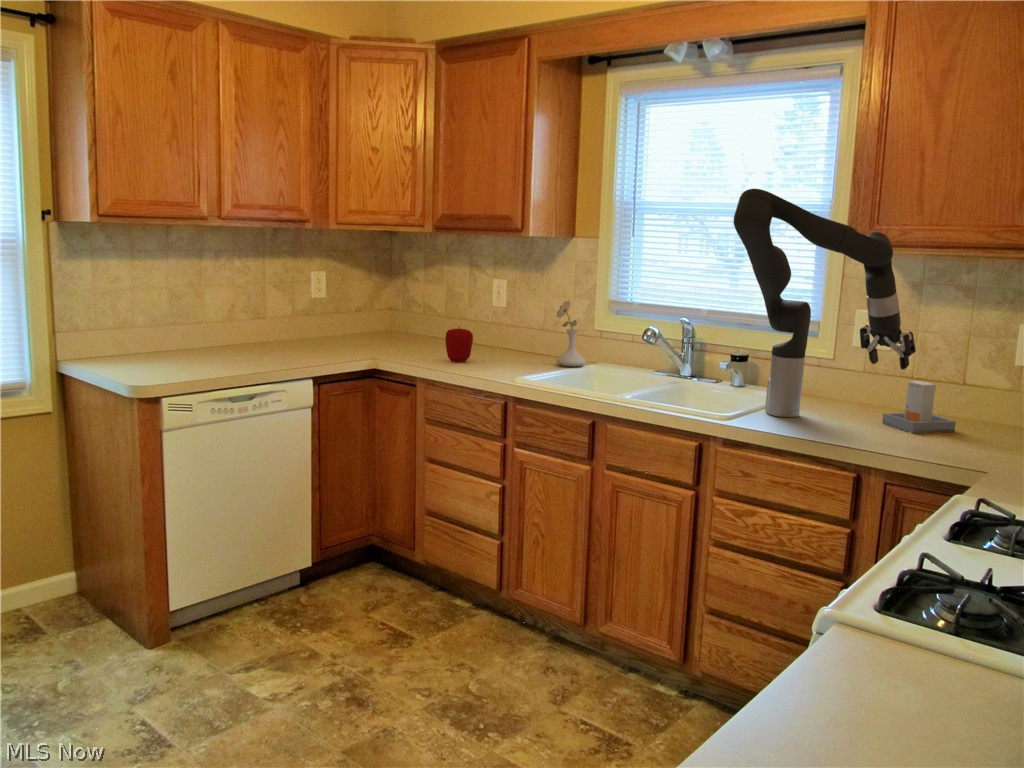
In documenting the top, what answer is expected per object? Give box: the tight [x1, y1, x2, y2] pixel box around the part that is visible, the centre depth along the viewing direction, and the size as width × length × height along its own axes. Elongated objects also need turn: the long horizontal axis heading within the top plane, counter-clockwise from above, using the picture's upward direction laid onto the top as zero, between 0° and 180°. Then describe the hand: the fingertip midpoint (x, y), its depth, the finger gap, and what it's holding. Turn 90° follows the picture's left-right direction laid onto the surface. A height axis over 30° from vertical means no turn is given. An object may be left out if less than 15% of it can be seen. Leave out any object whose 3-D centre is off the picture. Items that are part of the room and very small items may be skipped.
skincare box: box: [903, 380, 937, 422], centre depth 244 cm, size 6×4×12 cm
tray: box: [881, 412, 956, 434], centre depth 245 cm, size 12×14×3 cm
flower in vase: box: [555, 299, 587, 368], centre depth 330 cm, size 13×11×25 cm
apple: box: [444, 326, 474, 364], centre depth 332 cm, size 10×10×14 cm
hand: (889, 365), depth 233 cm, fingers open, 8 cm apart
